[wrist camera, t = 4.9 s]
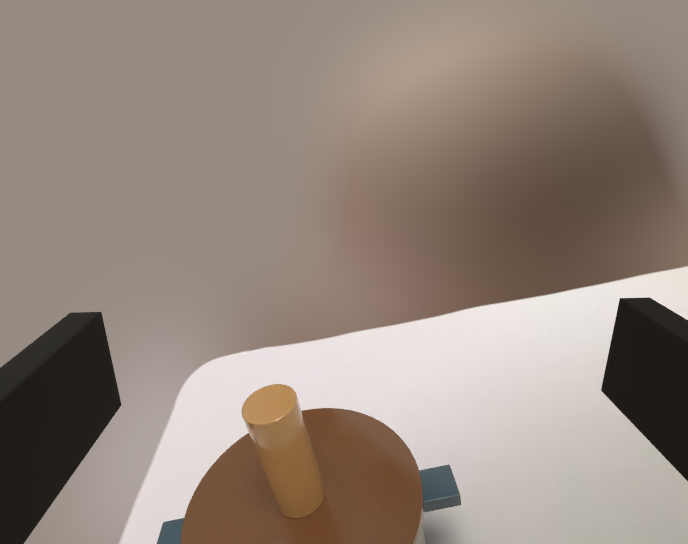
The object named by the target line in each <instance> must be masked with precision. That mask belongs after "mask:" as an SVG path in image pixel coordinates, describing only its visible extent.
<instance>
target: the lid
mask: <svg viewBox="0 0 688 544" xmlns="http://www.w3.org/2000/svg"><path fill="white" fill-rule="evenodd" d="M242 416H243V419H244V422H245V424H246V427H247V429H248V432H249V433H248V434H247V435H245V436H244V437H242V438H241V439H239V440H238V441H237V442H236V443H234V444H233V445H232V446H231V447H230V448H229V449H227V450H226V451H225V452H224V453H223V454H222V455H221V456H220V457H219V458H218V459H217V461H216V462H215V463H214V464H213V465H212V466H211V467H210V469H209V470H208V472H207V473H206V474H205V476H204V477H203V478H202V480H201V482H200V483H199V485H198V487H197V488H196V490H195V492H194V494H193V496H192V499H191V501H190V503H189V505H188V508H187V511H186V514H185V518H184V521H183V527H182V532H181V544H416V543H417V540H418V537H419V533H420V529H421V525H422V519H423V509H424V501H423V488H422V483H421V477H420V472H419V470H418V467H417V464H416V461H415V459H414V457H413V455H412V453H411V452H410V450H409V448H408V447H407V446H406V444H405V443H404V442H403V440H402V439H401V438H400V437H399V436H398V435H397V434H396V433H395V432H394V431H393V430H392V429H390V428H389V427H388V426H386V425H385V424H383V423H382V422H380V421H378V420H376V419H374V418H372V417H370V416H367V415H365V414H362V413H358V412H355V411H351V410H344V409H334V408H322V409H311V410H304V411H301V409H300V405H299V402H298V399H297V396H296V393H295V391H294V390H293V389H292V388H291V387H289V386H286V385H281V384H275V385H269V386H266V387H263V388H261V389H259V390H257V391H255V392H254V393H253V394H251V395H250V396H249V397H248V398H247V400H246V401H245V402H244V404H243V407H242Z"/></svg>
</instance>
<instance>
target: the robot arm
mask: <svg viewBox="0 0 688 544" xmlns="http://www.w3.org/2000/svg"><path fill="white" fill-rule="evenodd" d="M601 391H602V392H603V393H604V394H605V395H606V396H607V397H608V398H609V399H610V400H611V401H612V402H613V403H614V404H615V405H616V406H617V408H618V409H619V410H620V411H621V412H622V413H623V414H624V415H625V416H626V417H627V418H628V419H629V420H630V421H631V422H632V423H633V424H634V425H635V426H636V427H637V429H638V430H639V431H640V432H641V433H642V434H643V435H644V436H645V437H646V438H647V439H648V440H649V441H650V442H651V443H652V444H653V445H654V446H655V447H656V448H657V449H658V451H659V452H660V453H661V454H662V455H663V456H664V457H665V458H666V459H667V460H668V461H669V462H670V463H671V464H672V465H673V466H674V467H675V468H676V469H677V470H678V472H679V473H680V474H681V475H682V476H683V477H684V478H685V479H686V480H687V481H688V320H686V319H684V318H683V317H681V316H679V315H678V314H676V313H674V312H673V311H671V310H669V309H668V308H666V307H664V306H663V305H661V304H659V303H658V302H656V301H654V300H653V299H651V298H620V301H619V306H618V311H617V316H616V321H615V325H614V330H613V335H612V340H611V345H610V350H609V355H608V360H607V365H606V369H605V374H604V379H603V384H602V389H601ZM120 406H121V402H120V397H119V392H118V387H117V383H116V378H115V374H114V369H113V364H112V360H111V355H110V350H109V346H108V341H107V336H106V332H105V327H104V323H103V318H102V313H101V312H89V313H88V312H87V313H86V312H85V313H70V314H68V315H67V316H66V317H64V318H63V319H62V320H61V321H59V322H58V323H57V324H56V325H54V326H53V327H52V328H51V329H49V330H48V331H47V332H45V333H44V334H43V335H42V336H40V337H39V338H38V339H36V340H35V341H34V342H33V343H32V344H30V345H29V346H28V347H26V348H25V349H24V350H23V351H21V352H20V353H19V354H18V355H16V356H15V357H14V358H12V359H11V360H10V361H9V362H7V363H6V364H5V365H3V366H2V367H1V368H0V544H24V542H25V541H26V539H27V538H28V537H29V535H30V534H31V532H32V531H33V529H34V528H35V527H36V525H37V524H38V522H39V521H40V520H41V518H42V517H43V515H44V514H45V513H46V511H47V509H48V508H49V507H50V505H51V504H52V502H53V501H54V500H55V498H56V497H57V495H58V494H59V493H60V491H61V490H62V488H63V487H64V485H65V484H66V483H67V481H68V480H69V478H70V477H71V476H72V474H73V473H74V471H75V470H76V468H77V467H78V466H79V464H80V463H81V461H82V460H83V459H84V457H85V456H86V454H87V453H88V452H89V450H90V449H91V447H92V446H93V444H94V443H95V442H96V440H97V439H98V437H99V436H100V434H101V433H102V432H103V430H104V429H105V427H106V426H107V425H108V423H109V422H110V420H111V419H112V417H113V416H114V415H115V413H116V412H117V410H118V409H119V407H120Z"/></svg>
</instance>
